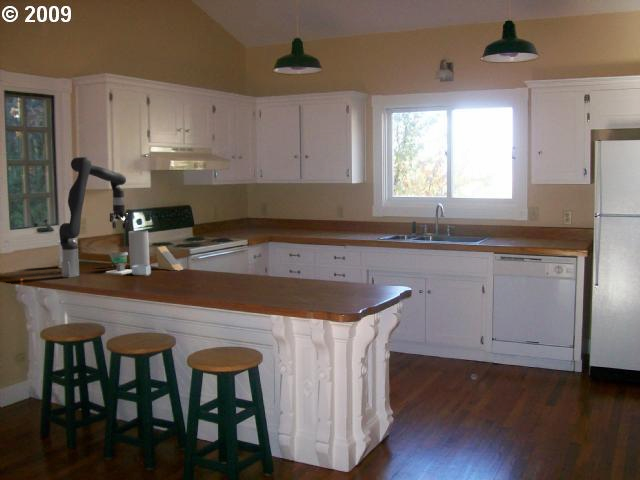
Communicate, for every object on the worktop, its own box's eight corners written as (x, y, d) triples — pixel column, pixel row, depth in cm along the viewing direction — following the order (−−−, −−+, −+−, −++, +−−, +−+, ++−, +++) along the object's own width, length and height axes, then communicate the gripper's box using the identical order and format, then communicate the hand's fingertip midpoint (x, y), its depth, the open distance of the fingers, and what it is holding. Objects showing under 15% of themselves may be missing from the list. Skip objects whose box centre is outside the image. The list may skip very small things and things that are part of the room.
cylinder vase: (143, 267, 462) (141, 230, 459) (153, 268, 453) (151, 231, 450) (126, 269, 453) (125, 231, 450) (136, 271, 444) (135, 232, 442)
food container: (109, 268, 458) (108, 253, 457) (109, 267, 464) (109, 252, 463) (128, 267, 461) (127, 252, 460) (128, 266, 467) (127, 251, 466)
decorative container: (63, 265, 472) (62, 239, 470) (79, 265, 471) (78, 239, 469) (55, 268, 461) (53, 241, 459) (71, 268, 460) (70, 241, 458)
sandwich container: (176, 271, 443) (175, 248, 441) (157, 269, 450) (156, 247, 448) (184, 269, 451) (183, 246, 449) (165, 268, 458) (165, 245, 456)
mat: (121, 275, 425) (121, 274, 425) (102, 274, 432) (102, 273, 432) (139, 272, 439) (139, 271, 439) (120, 270, 446) (120, 269, 446)
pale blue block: (142, 276, 422) (142, 267, 421) (128, 275, 427) (128, 266, 426) (154, 273, 432) (154, 265, 431) (140, 272, 437) (140, 264, 436)
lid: (121, 274, 427) (121, 265, 426) (105, 273, 433) (105, 264, 432) (135, 271, 439) (135, 262, 438) (120, 270, 444) (119, 261, 444)
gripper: (106, 204, 455) (107, 228, 456) (123, 204, 449) (123, 229, 450) (114, 203, 462) (115, 227, 463) (130, 204, 456) (131, 228, 457)
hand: (119, 228), depth 457 cm, fingers open, 8 cm apart
